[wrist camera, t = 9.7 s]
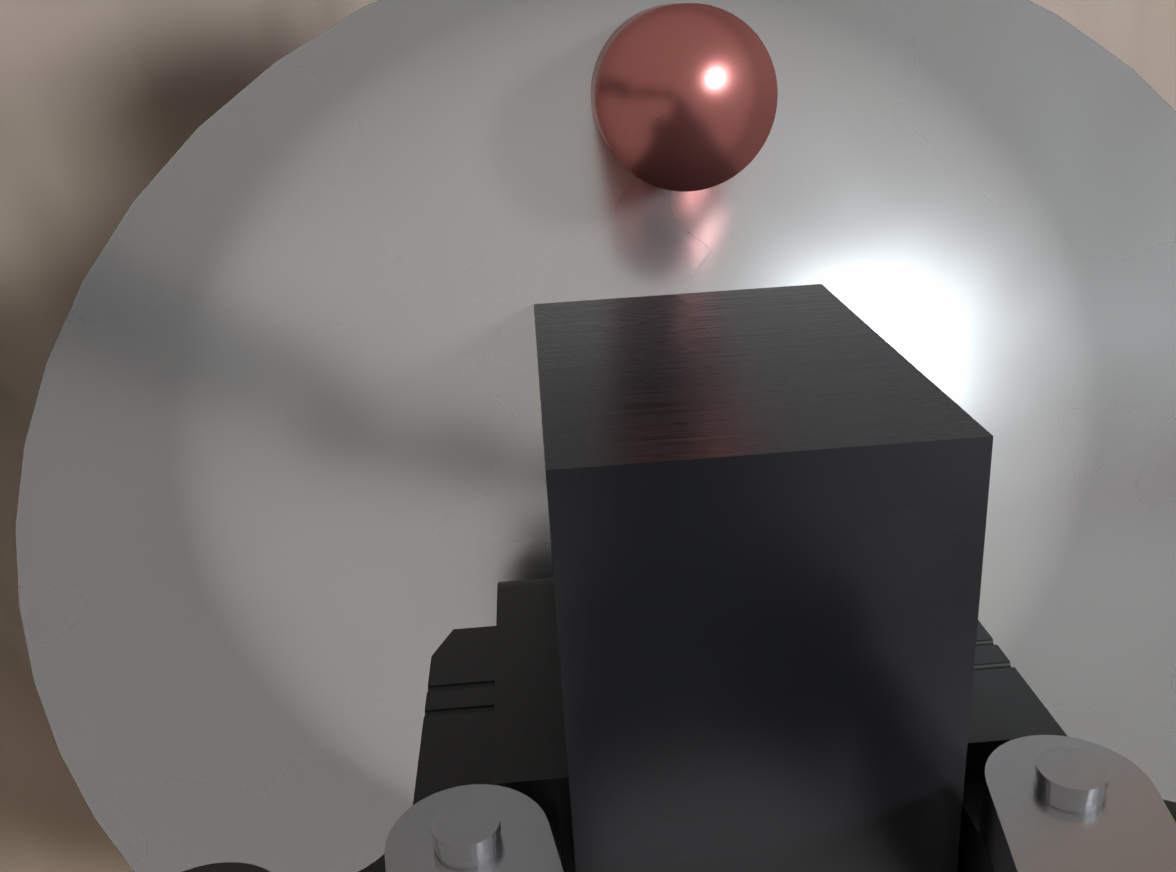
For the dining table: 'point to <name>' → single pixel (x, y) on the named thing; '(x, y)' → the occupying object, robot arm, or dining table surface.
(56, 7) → the dining table surface
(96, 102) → the dining table surface
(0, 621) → the dining table surface
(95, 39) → the dining table surface
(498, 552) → the steel lid
